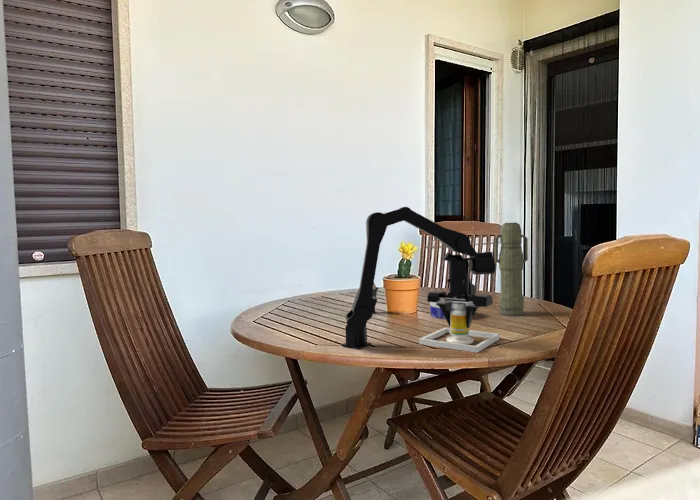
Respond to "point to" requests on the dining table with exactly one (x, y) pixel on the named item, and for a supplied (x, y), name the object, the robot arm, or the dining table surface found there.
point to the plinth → (460, 340)
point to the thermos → (511, 268)
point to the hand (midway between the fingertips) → (459, 326)
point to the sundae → (374, 292)
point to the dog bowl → (438, 313)
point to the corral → (429, 341)
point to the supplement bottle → (458, 320)
